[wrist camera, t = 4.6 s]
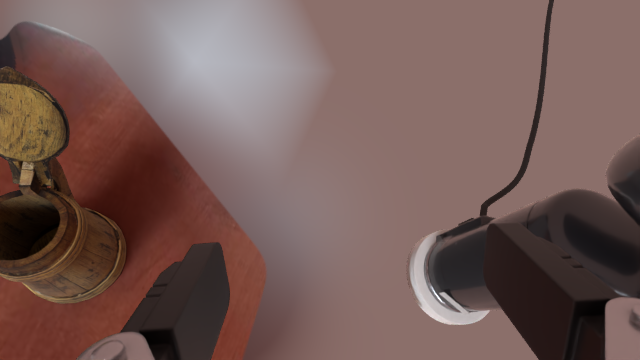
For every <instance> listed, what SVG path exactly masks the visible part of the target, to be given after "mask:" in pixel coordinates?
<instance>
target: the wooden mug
mask: <svg viewBox="0 0 640 360" xmlns="http://www.w3.org/2000/svg"><path fill="white" fill-rule="evenodd" d="M68 142H69V124H68V120H67V117H66V114H65V112H64V110H63V108H62V107H61V106H60V104H59V103H58V101H57V100H56V99H55V98H54V97H53V96H52V95H51V94H50V93H49V92H48V91H47V90H46V89H45V88H43V87H42V86H41V85H39V84H38V83H37V82H35V81H33V80H32V79H30V78H28V77H27V76H25V75H23V74H22V73H20V72H18V71H16V70H14V69H13V68H11V67H8V66H6V67H4V68H1V69H0V156H1V157H2V158H4V159H5V160H7V161H8V163H9V166H10V169H11V172H12V177H13V183H17V184H19V189H20V190H17V191H13V192H10V193H7V194H4V195H2V196H0V276H2V277H4V278H6V279H8V280H10V281H15V282H22V283H23V284H24V285H25V286H26V287H27V288H28V289H30V290H31V291H32V292H33V293H34V294H35V295H36V296H38V297H41V298H43V299H46V300H48V301H52V302H57V303H77V302H80V301H84V300H88V299H90V298H92V297H94V296H96V295H98V294H100V293H102V292H103V291H105V290H106V289H107V288H108V287H109V286H110V285H112V284H113V283H114V281H115V280H116V279H117V278H118V276H119V275H120V274H121V272H122V269H123V266H124V264H125V259H126V242H125V239H124V236H123V233H122V231H121V229H120V228H119V227H118V226H117V225H116V223H115V222H114V221H113V220H111V219H109V218H107V217H106V216H104V215H102V214H100V213H98V212H96V211H93V210H91V209H87V208H81V207H80V206H79V204H78V203H77V202H76V201H75V199H74V197H73V195H72V193H71V190H70V188H69V185H68V182H67V179H66V177H65V174H64V172H63V169H62V167H61V165H60V164H59V162H58V161H57V159H56V158H55V157H57V156H59V155H60V154H61V153H62V152H63V151H64V149H65V148H66V147H67V146H68ZM47 186H51V188H47Z"/></svg>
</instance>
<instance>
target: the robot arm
mask: <svg viewBox="0 0 640 360" xmlns="http://www.w3.org/2000/svg"><path fill="white" fill-rule="evenodd" d="M553 2H554V0H549V5H548V10H547V16H546V24H545V33H544V43H543V54H542V64H541V65H542V66H541V75H540V83H539V91H538V98H537V104H536V111H535V116H534V120H533V125H532V129H531V133H530V137H529V140H528V143H527V147H526V150H525V154H524V158H523V162H522V165H521V168H520V170H519V172H518V174H517V176H516V177H515V179H514V180H513V181H512V182H511V183H510V184H509V185H508V186H507V187H505V188H504V189H503V190H502V191H500V192H498V193H497V194H495V195H494V196H492V197H491V198H489V199H488V200H486V201H485V202H484V203H483V204H482V205H481V211H480V217H477V218H475V219H474V218H471V219H469V220H467V221H465V222H462V223H460V224H459V225H458V226H457V227H455V228H453V229H451V230H448V231H446V232H444V233H442V234H439V235H437V236H436V243H435V244H434V245H432V246H431V248H430V249H429V250H428V252H427V254H426V257H425V261H424V277H425V281H426V284H427V286H428V289H429V291H430V292H431V294H432V295H433V297H434V298H435V299H436V300H437V301H438V302H439V303H440V304H441V305H442V306H443V307H445V308H446V309H448V310H450V311H453V312H457V313H463V314H464V315H467V314H470V313H471V312H478V311H487V310H499V309H502V310H503V311H504V312H505V314H506V315H507V316H508V318H509V319H510V320H511V322H512V323H513V325H514V326H515V327H516V329H517V330H518V332H519V333H520V334H521V336H522V337H523V338H524V339H525V341H526V342H527V344H528V345H529V347H530V348H531V349H532V351H533V352H534V354H535V355H536V356H537V358H538V359H539V360H640V134H639V135H637V136H636V137H635V138H633V139H631V140H630V141H629V142H627V143H626V144H625V145H623V146H622V147H621V148H620V149H619V150H618V151H617V152H616V154H614V156H613V157H612V158H611V160H610V162H609V164H608V166H607V170H606V175H605V176H606V182H607V186H608V188H609V190H610V191H611V193H612V195H613V196H614V197H615V199H616V200H614V199H612V198H610V197H608V196H606V195H604V194H602V193H598V192H596V191H592V190H588V189H579V188H576V189H568V190H564V191H561V192H558V193H555V194H553V195H551V196H548V197H546V198H544V199H541V200H539V201H536V202H534V203H532V204H529V205H527V206H524V207H522V208H520V209H517V210H515V211H512V212H510V213H508V214H505V215H503V216H500V217H498V218H492V217H488V216H486V215H487V208H488V206H490V205H491V204H492V203H494V202H495V201H497V200H498V199H500V198H501V197H503V196H504V195H506V194H507V193H508V192H510V191H511V190H512V189H513V188H514V187H515V186H516V185H517V184H518V183H519V181H520V180H521V178H522V177H523V175H524V173H525V171H526V169H527V165H528V162H529V158H530V155H531V151H532V146H533V143H534V140H535V136H536V132H537V128H538V123H539V118H540V113H541V108H542V102H543V94H544V86H545V77H546V66H547V54H548V42H549V30H550V22H551V13H552V7H553ZM229 300H230V289H229V282H228V277H227V272H226V267H225V261H224V256H223V251H222V247H221V245H220V243H218V242H216V243H202V244H193V245H192V246H191V248H190V249H189V251H188V252H187V254H186V256H185V257H184V259H183V260H182V262H175V263H173V264H172V265H171V266H169V267H168V268H167V269H165V270H164V271H163V272H162V273H161V274H160V275H159V277H158V278H157V280H156V281H155V282H154V284H153V287H151V288H150V290H149V291H148V293H147V294H146V298H143V300H142V301H141V303H140V304H139V306H138V307H137V309H136V310H135V312H134V313H133V314H132V316H131V317H130V319H129V320H128V322H127V323H126V325H125V326H124V328H123V329H122V330H121V332H120V333H117V334H114V335H110V336H108V337H106V338H103V339H101V340H99V341H98V342H96V343H94V344H93V345H91V346H90V347H89V348H87V349H86V350H85V351H84V352H83V353H81V354H80V356H79V357H78V358H77V359H76V360H211V358H212V355H213V352H214V349H215V346H216V343H217V340H218V337H219V334H220V331H221V328H222V325H223V322H224V319H225V316H226V313H227V310H228V306H229Z"/></svg>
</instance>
